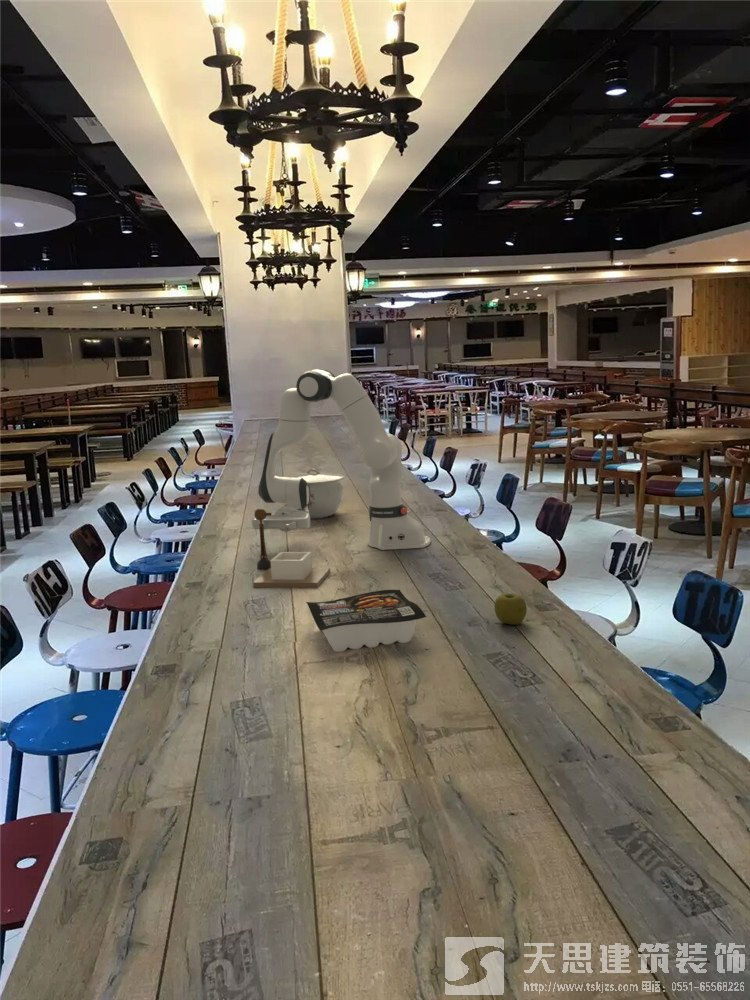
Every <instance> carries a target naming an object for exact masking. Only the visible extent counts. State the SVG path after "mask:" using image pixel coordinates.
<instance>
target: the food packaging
mask: <svg viewBox="0 0 750 1000" xmlns="http://www.w3.org/2000/svg"><path fill="white" fill-rule="evenodd" d="M305 603H306V604H307V606H308V608H309V611H310V613H311V616H312V618H313V620H314V622H315V624H316V625H315V626H316V627H317V629H318V630H319V631H320V632H323V634H324V636H325V639H326V640H327V642H328V644H329V645H330V646H331V648H332V650H333V652H335V653H342V652H345V651H346V650H347V649H348V648H349V649H351V650H358V649H361V648H362V647H363V646H366V647H367V648H368V649H369V648H376V647H378V646H379V644H380V643H381V644H383V645H386V646H388V645H392V644H394V643H395V642H398V643H400V644H404V643H409V642H410V641H411V640H412V638H413V635H414V633H415V631H416V623H417V621H418V620H420V619H423V618H427V615H426V614H425V612H424V611H423V610H422V608H421V607H420V605H418V604H417V603H415V602H413V601H411V600H409V599H408V598H406V596H405V595H404V594H403V592H402V591H401V590H400V589H381V590H375V591H369V592H364V593H360V594H356V595H353V596H352V595H351V596H347V597H343V598H339V599H333V600H329V601H328V600H327V601H320V602H319V601H317V602H316V601H315V602H312V601H305Z"/></svg>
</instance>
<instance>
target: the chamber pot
mask: <svg viewBox="0 0 750 1000" xmlns="http://www.w3.org/2000/svg"><path fill="white" fill-rule="evenodd" d="M286 477H296V478H303V479H304V480H305V481H306V482H307V483H308V485H309V487H310V502H309V504H308V510H309V514H310V520H318V519H317V518H319V519H324V517H325V518H328V516H329V517H330V516H333V515H335V514H336V513H337V511H338V510H339V508H340V506H341V504H342V502H343V496H344V487H343V485H342V483H341V480H344V479H345V478H346V475H345V474H342V473H340V472H334V471H319V470H317V469H315V468H312V467H311V468H309V469H308V470H307V472H301V473H299V472H298V473H295V474H291V475H287V476H286Z"/></svg>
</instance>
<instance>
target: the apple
mask: <svg viewBox="0 0 750 1000" xmlns="http://www.w3.org/2000/svg"><path fill="white" fill-rule="evenodd" d="M527 607H528V606H527V603H526V600H525V599H524V598H523V597H522V596H520V595H519V594H518V593H517V594H516V593H503V594H501V595H499V596H497V598H496V599H495V601H494V612H495V615H496V617H497V619H498V620H499V621H500V622H501V623H503V624H507V625H512V626H517V625H520V624H521V623H522V622H523V621H524V620H525V618H526V615H527V611H528V609H527Z"/></svg>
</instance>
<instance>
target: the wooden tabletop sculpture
mask: <svg viewBox="0 0 750 1000" xmlns="http://www.w3.org/2000/svg"><path fill="white" fill-rule="evenodd" d="M271 515H272V512H271V511H269V512H267V511H266V510H265V509H263V508H257V509H255V511H254V518H256V519H257V520H260V523H259V529H258V530H259V538H260V542H259V543H260V556H259V560H258V562H257V564H256V565H257V567H256V569H257V570H259V571H267V570H268V569H269V568H271V560H270V559H269V558H268V553H267V549H266V542H265V539H266V538H265V529H264V527H263V524H264V523H262V520H263V519H265V518H266V516H271Z"/></svg>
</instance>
